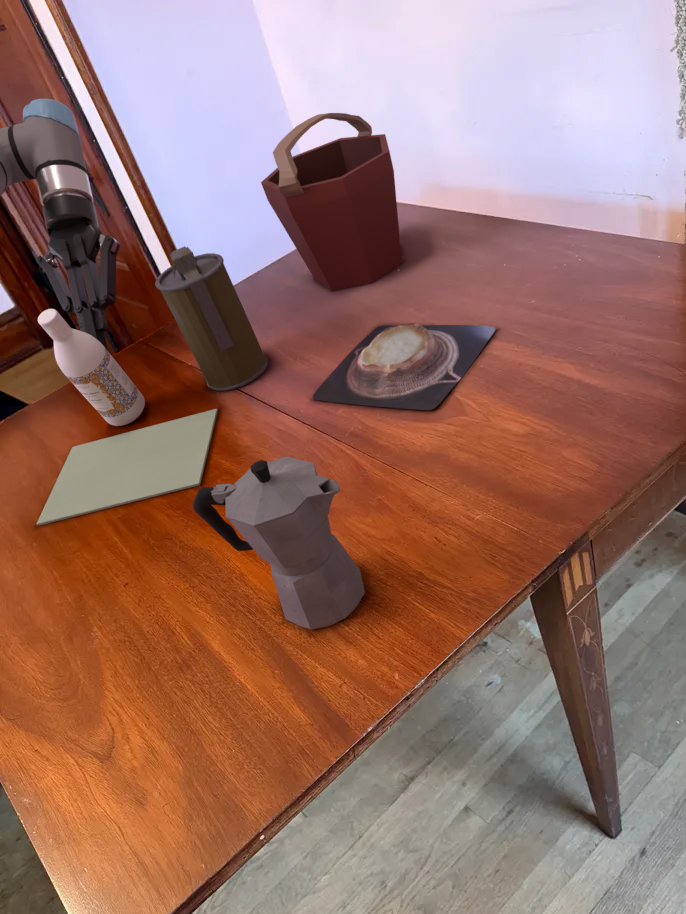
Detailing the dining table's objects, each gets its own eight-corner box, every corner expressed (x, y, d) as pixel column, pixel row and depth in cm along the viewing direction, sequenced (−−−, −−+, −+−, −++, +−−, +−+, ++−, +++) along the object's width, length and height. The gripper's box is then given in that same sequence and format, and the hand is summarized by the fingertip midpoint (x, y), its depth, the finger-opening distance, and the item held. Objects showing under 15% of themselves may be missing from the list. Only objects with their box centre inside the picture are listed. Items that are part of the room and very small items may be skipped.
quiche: (498, 329, 108) (493, 304, 105) (434, 413, 97) (427, 387, 94) (379, 325, 118) (371, 302, 116) (309, 400, 107) (299, 377, 105)
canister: (201, 373, 123) (141, 257, 109) (259, 346, 124) (206, 229, 111) (214, 401, 115) (152, 279, 101) (276, 372, 116) (222, 249, 103)
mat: (37, 526, 102) (36, 524, 102) (73, 448, 115) (72, 446, 115) (200, 485, 99) (198, 483, 99) (218, 410, 112) (216, 408, 112)
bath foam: (99, 427, 117) (15, 335, 101) (115, 393, 121) (36, 298, 104) (137, 427, 115) (57, 333, 99) (152, 393, 119) (77, 296, 102)
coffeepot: (393, 560, 79) (339, 424, 67) (373, 631, 73) (310, 495, 61) (263, 565, 84) (192, 439, 72) (235, 632, 78) (151, 506, 66)
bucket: (344, 310, 125) (290, 155, 109) (272, 289, 140) (215, 149, 123) (444, 243, 134) (409, 90, 118) (367, 230, 149) (326, 92, 132)
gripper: (119, 204, 117) (150, 349, 116) (45, 228, 119) (74, 370, 118) (93, 181, 110) (126, 335, 109) (14, 206, 112) (45, 358, 111)
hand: (99, 353), depth 113 cm, fingers closed
